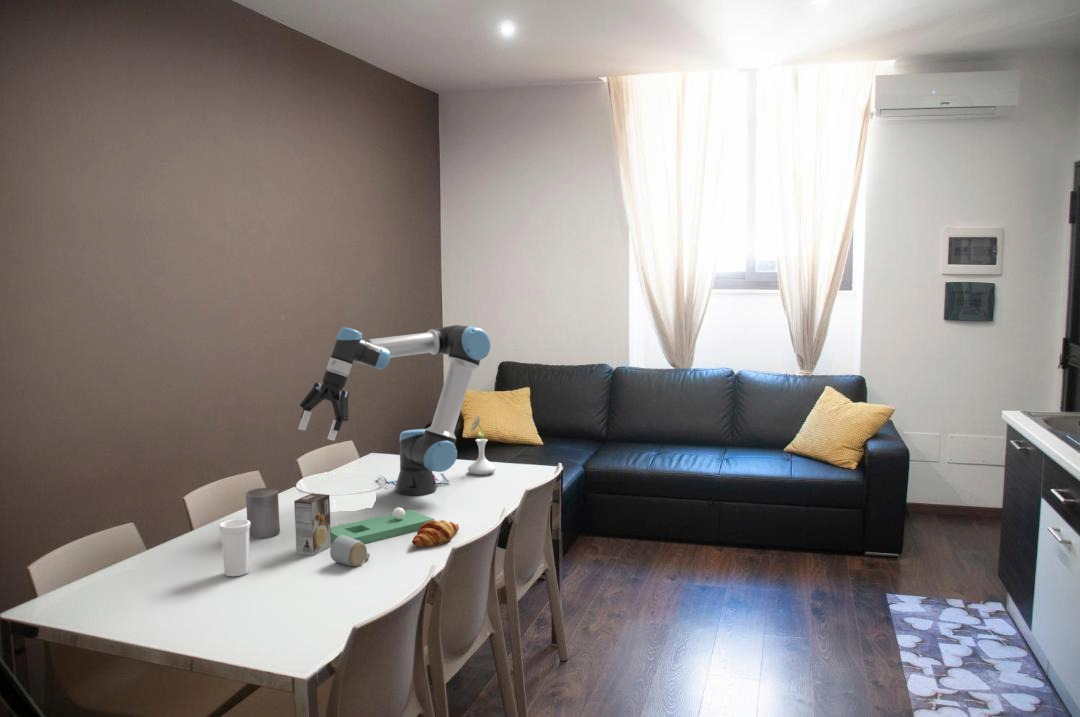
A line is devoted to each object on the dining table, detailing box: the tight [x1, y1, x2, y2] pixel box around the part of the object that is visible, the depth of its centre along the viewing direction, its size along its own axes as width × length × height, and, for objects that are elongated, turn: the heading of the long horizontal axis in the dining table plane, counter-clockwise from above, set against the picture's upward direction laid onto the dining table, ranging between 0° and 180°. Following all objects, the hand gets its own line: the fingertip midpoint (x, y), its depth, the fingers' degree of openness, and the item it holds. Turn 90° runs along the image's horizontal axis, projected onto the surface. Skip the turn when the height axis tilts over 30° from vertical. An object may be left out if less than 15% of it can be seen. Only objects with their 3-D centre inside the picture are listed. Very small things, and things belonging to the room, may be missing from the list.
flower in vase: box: [467, 413, 496, 476], centre depth 345 cm, size 13×11×25 cm
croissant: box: [411, 519, 460, 548], centre depth 264 cm, size 21×10×8 cm, turn 148°
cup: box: [218, 518, 251, 577], centre depth 234 cm, size 8×8×14 cm
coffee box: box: [293, 492, 332, 556], centre depth 254 cm, size 9×6×16 cm
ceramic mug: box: [329, 535, 371, 567], centre depth 244 cm, size 11×8×8 cm
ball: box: [392, 506, 406, 520], centre depth 276 cm, size 4×4×4 cm
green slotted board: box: [330, 509, 435, 545], centre depth 272 cm, size 32×14×2 cm, turn 132°
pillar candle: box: [245, 487, 281, 540], centre depth 268 cm, size 10×10×15 cm
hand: (316, 434), depth 280 cm, fingers open, 13 cm apart
